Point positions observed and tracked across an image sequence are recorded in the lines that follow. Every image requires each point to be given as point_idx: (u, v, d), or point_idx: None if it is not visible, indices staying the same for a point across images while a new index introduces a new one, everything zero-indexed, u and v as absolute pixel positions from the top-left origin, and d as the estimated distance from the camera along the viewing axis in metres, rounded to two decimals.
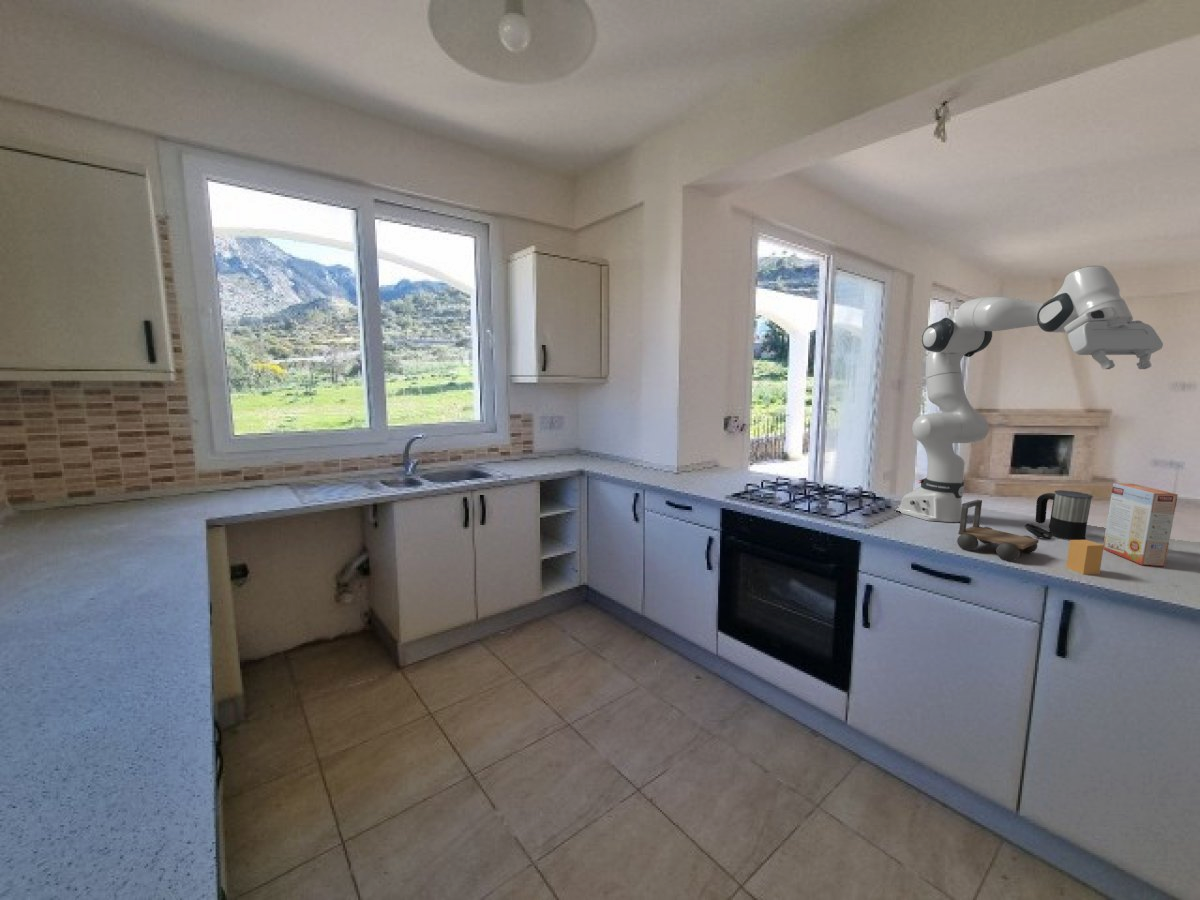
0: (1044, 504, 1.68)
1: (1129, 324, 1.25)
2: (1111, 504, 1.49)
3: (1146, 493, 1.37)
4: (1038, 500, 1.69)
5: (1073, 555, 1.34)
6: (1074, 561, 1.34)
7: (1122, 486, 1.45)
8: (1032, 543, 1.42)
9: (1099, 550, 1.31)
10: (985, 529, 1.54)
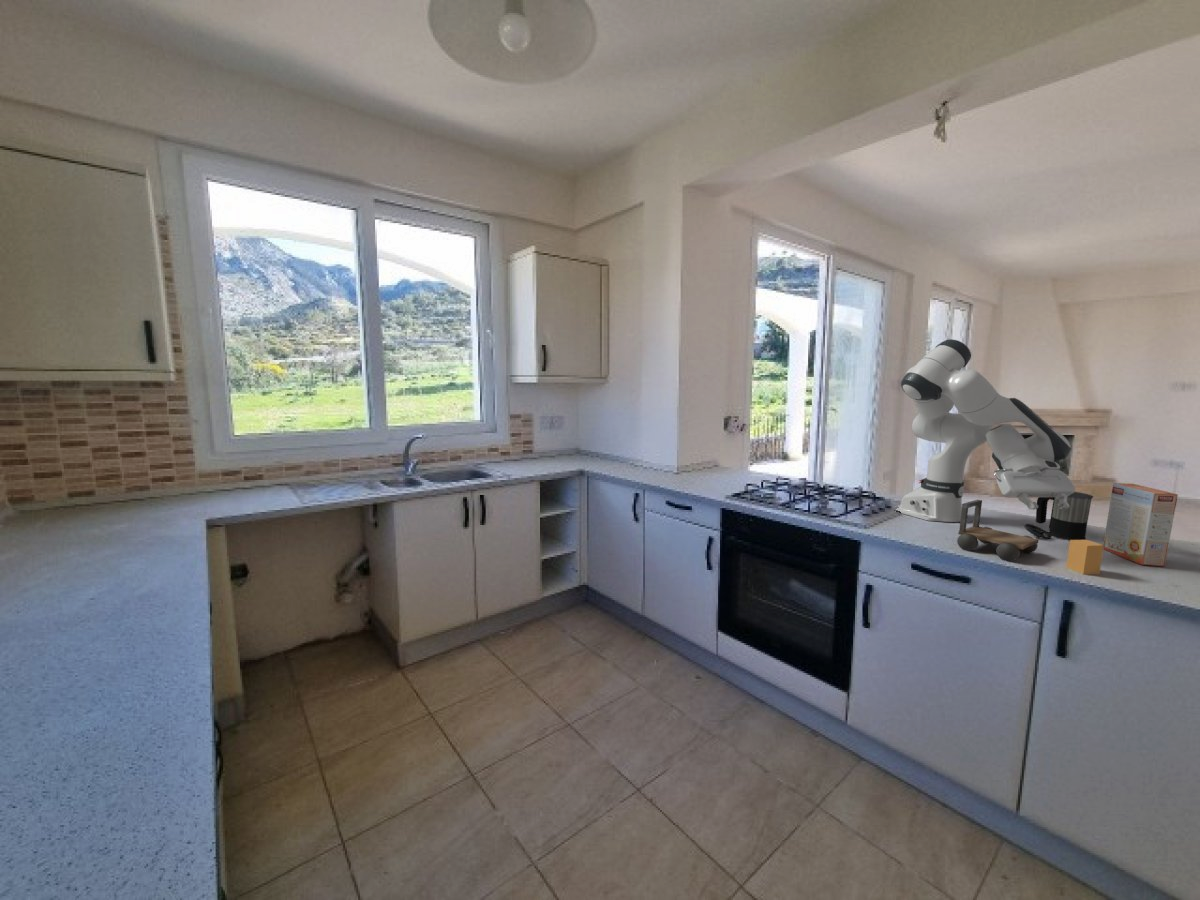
0: (1044, 505, 1.68)
1: None
2: (1111, 504, 1.49)
3: (1146, 493, 1.37)
4: (1038, 500, 1.68)
5: (1073, 555, 1.34)
6: (1074, 561, 1.34)
7: (1122, 486, 1.45)
8: (1032, 543, 1.42)
9: (1099, 550, 1.31)
10: (985, 529, 1.54)
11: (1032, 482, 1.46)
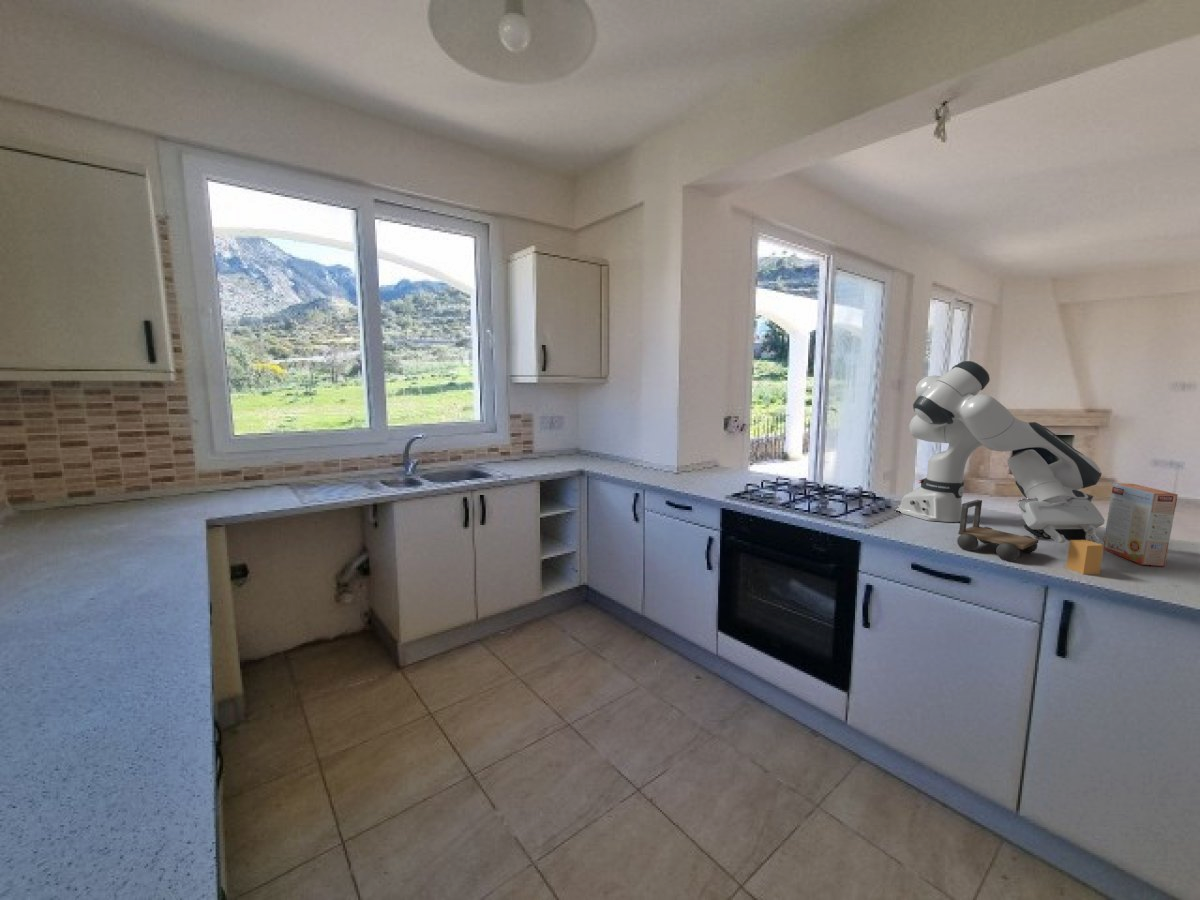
0: None
1: None
2: (1111, 504, 1.49)
3: (1146, 493, 1.37)
4: None
5: (1073, 555, 1.34)
6: (1074, 561, 1.34)
7: (1122, 486, 1.45)
8: (1032, 543, 1.42)
9: (1099, 550, 1.31)
10: (985, 529, 1.54)
11: (1059, 513, 1.38)
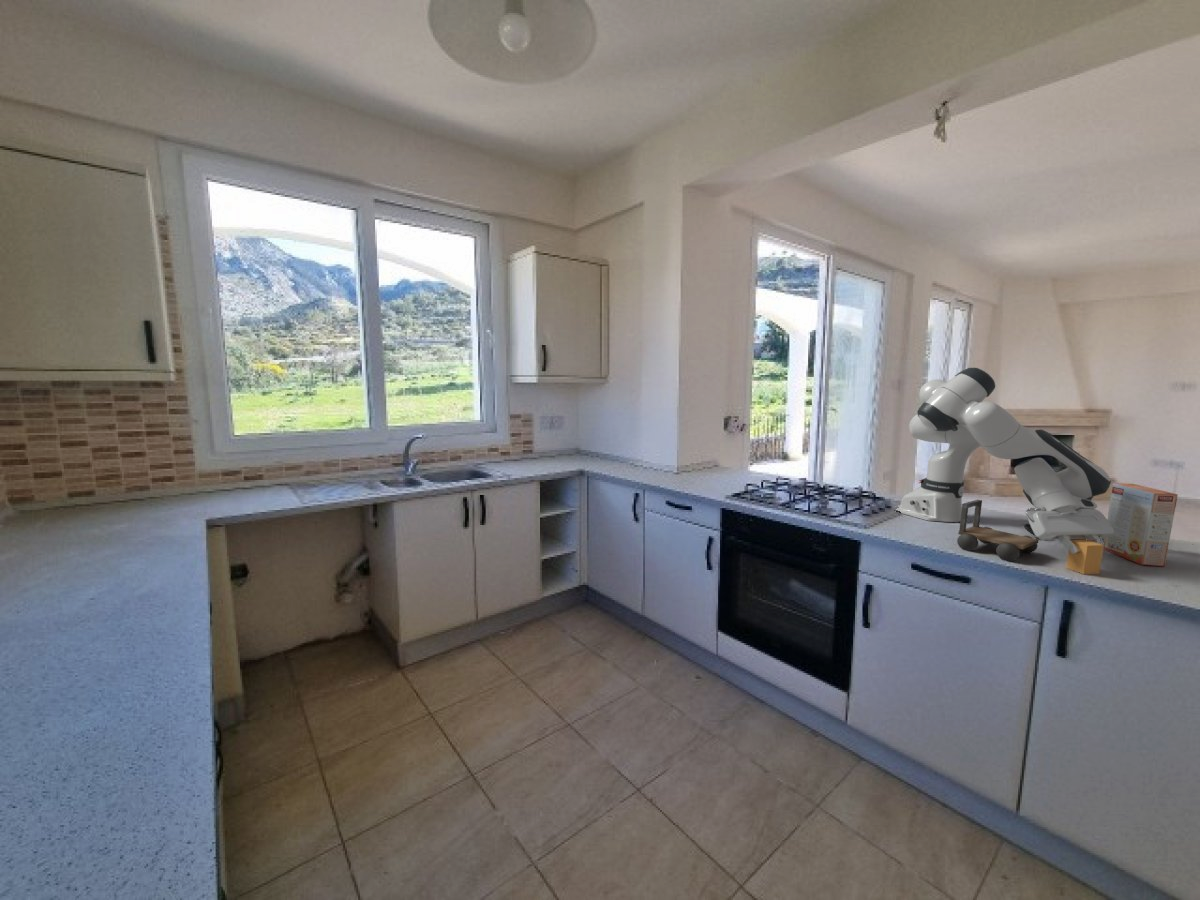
0: None
1: None
2: (1111, 504, 1.49)
3: (1146, 493, 1.37)
4: None
5: (1073, 555, 1.34)
6: (1074, 560, 1.34)
7: (1122, 486, 1.45)
8: (1032, 543, 1.42)
9: (1099, 550, 1.31)
10: (985, 529, 1.54)
11: (1068, 523, 1.36)
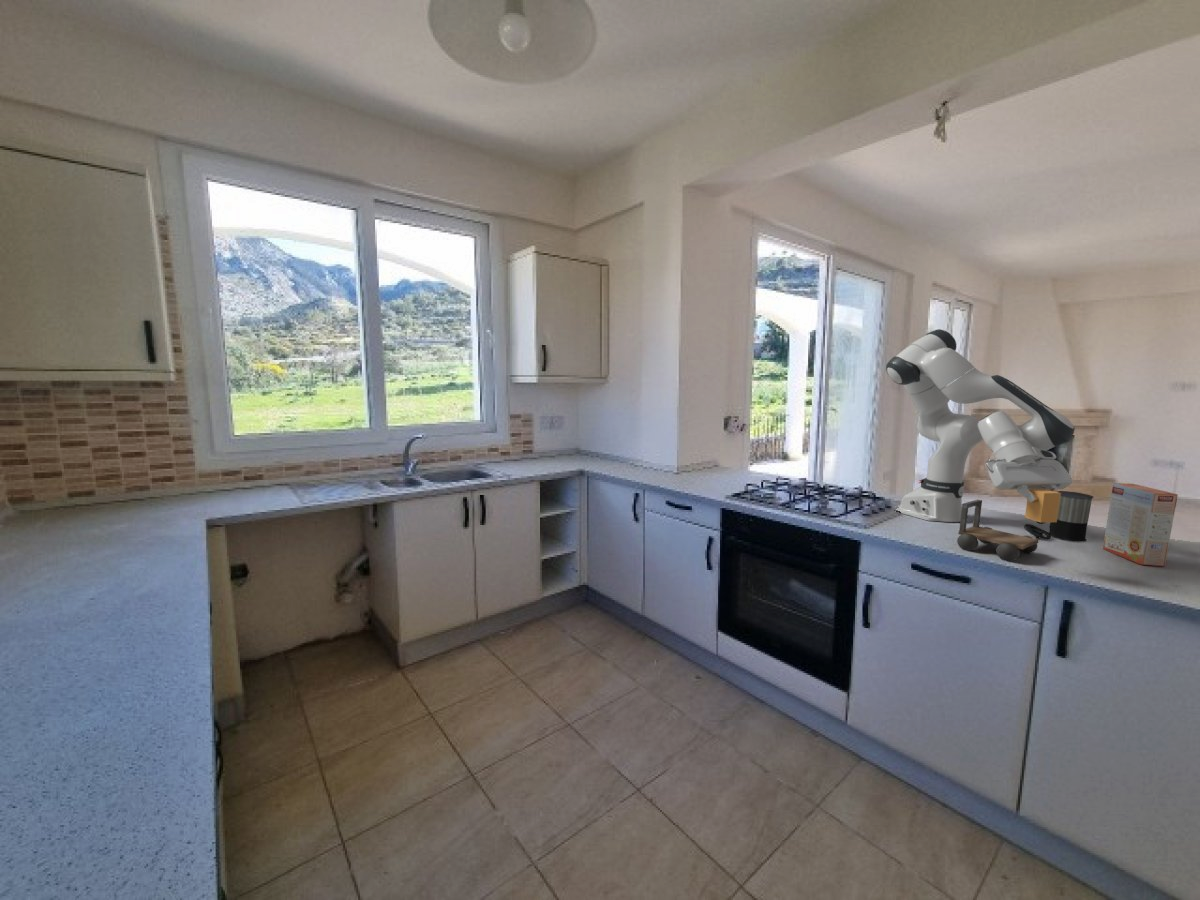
0: None
1: None
2: (1111, 504, 1.49)
3: (1146, 493, 1.37)
4: None
5: (1032, 504, 1.34)
6: (1032, 509, 1.34)
7: (1122, 486, 1.45)
8: (1032, 543, 1.42)
9: (1056, 498, 1.31)
10: (985, 529, 1.54)
11: (1027, 473, 1.36)
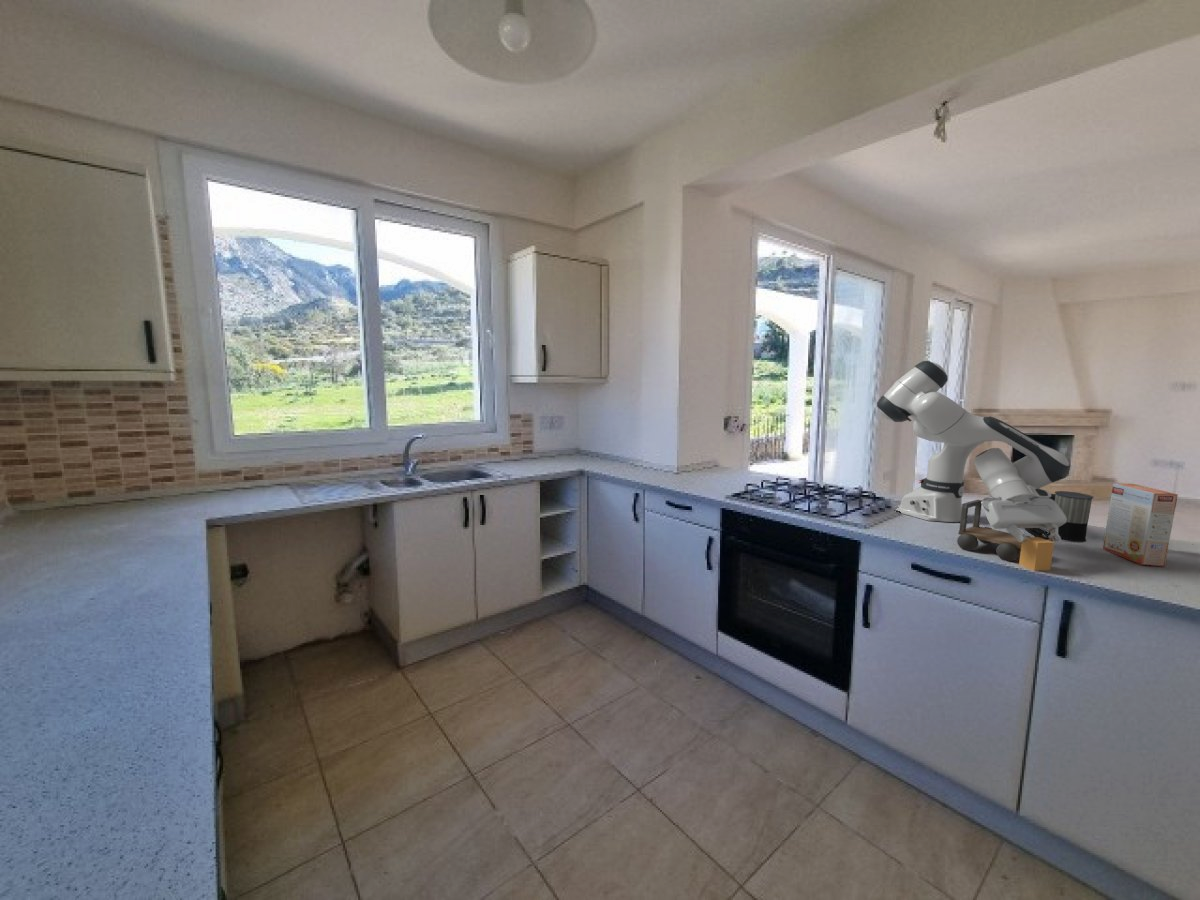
0: None
1: None
2: (1111, 504, 1.49)
3: (1146, 493, 1.37)
4: None
5: (1025, 552, 1.36)
6: (1026, 557, 1.36)
7: (1122, 486, 1.45)
8: None
9: (1049, 547, 1.33)
10: (985, 529, 1.54)
11: (1022, 512, 1.38)
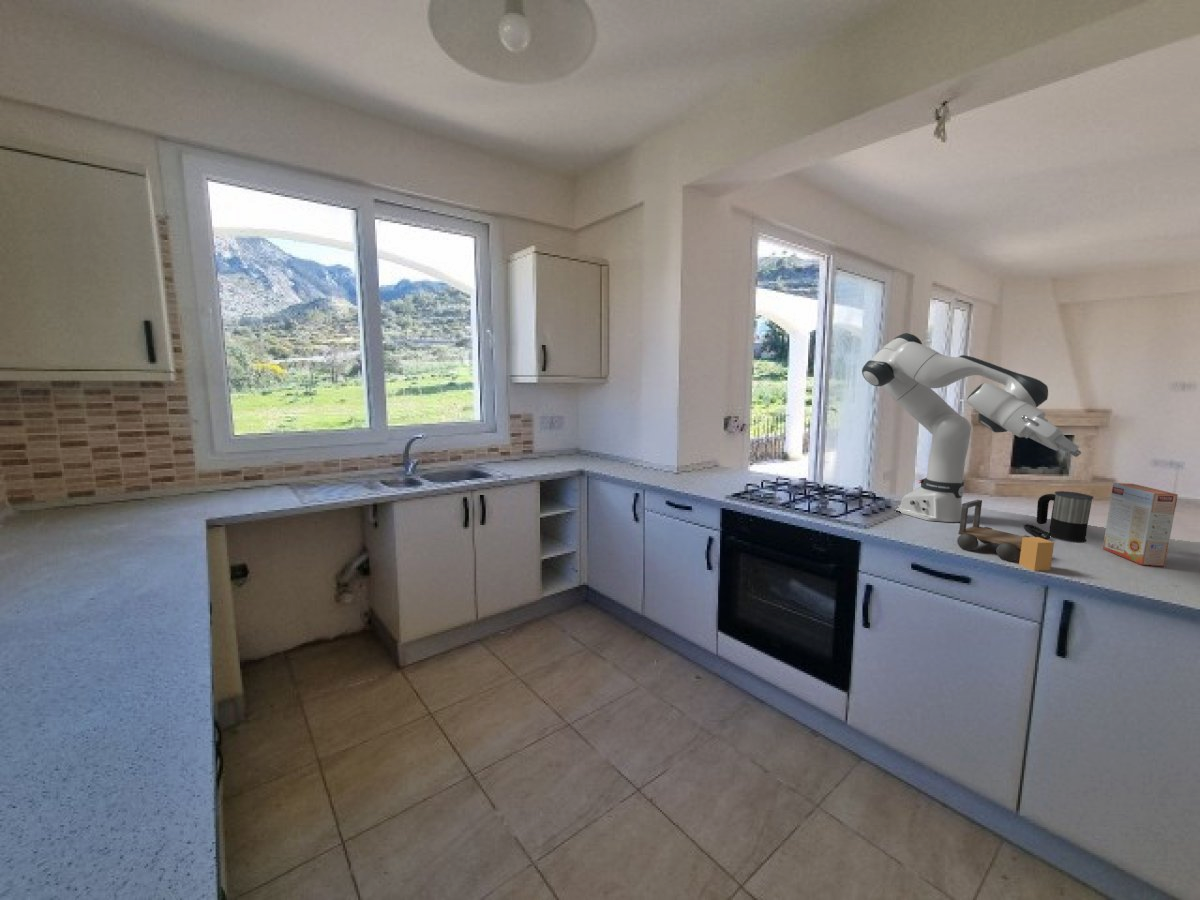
0: (1045, 505, 1.67)
1: (1027, 429, 1.38)
2: (1111, 504, 1.49)
3: (1146, 493, 1.37)
4: (1039, 501, 1.68)
5: (1025, 552, 1.36)
6: (1026, 557, 1.36)
7: (1122, 486, 1.45)
8: None
9: (1049, 547, 1.33)
10: (985, 529, 1.54)
11: None
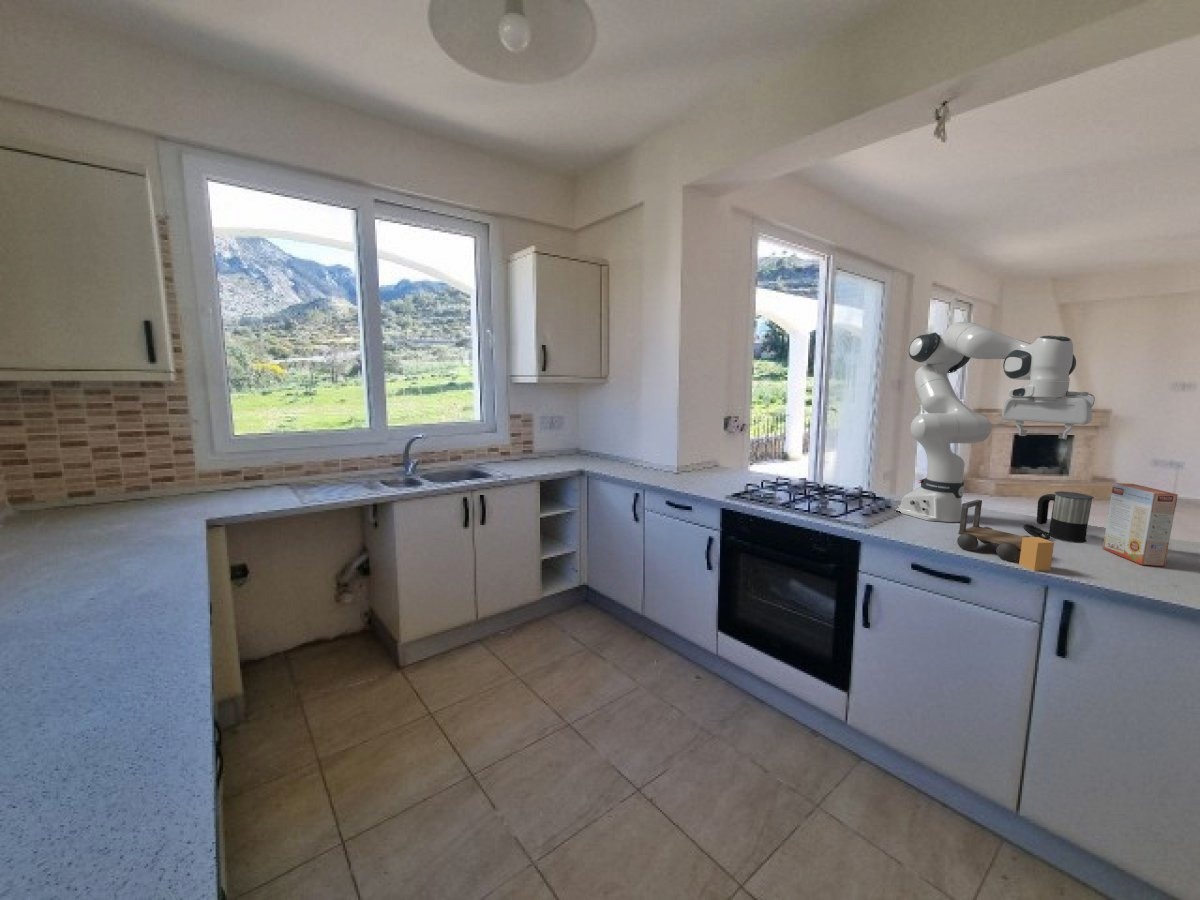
0: (1045, 505, 1.67)
1: (1059, 399, 1.43)
2: (1111, 504, 1.49)
3: (1146, 493, 1.37)
4: (1039, 501, 1.67)
5: (1025, 552, 1.36)
6: (1026, 557, 1.36)
7: (1122, 486, 1.45)
8: None
9: (1049, 547, 1.33)
10: (985, 529, 1.54)
11: None
